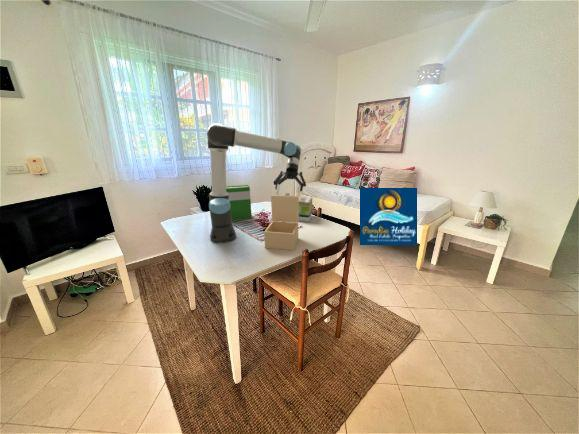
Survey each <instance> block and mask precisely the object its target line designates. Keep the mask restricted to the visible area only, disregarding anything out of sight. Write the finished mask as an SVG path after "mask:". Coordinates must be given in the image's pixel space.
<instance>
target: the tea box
mask: <svg viewBox="0 0 579 434" xmlns="http://www.w3.org/2000/svg"><path fill="white" fill-rule="evenodd" d="M312 210H313V197H309V196H300V197H299V222H305V223H307V222H308V223H309V222H310V220H311V218H312V214H313V213H312V212H313V211H312Z"/></svg>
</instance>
